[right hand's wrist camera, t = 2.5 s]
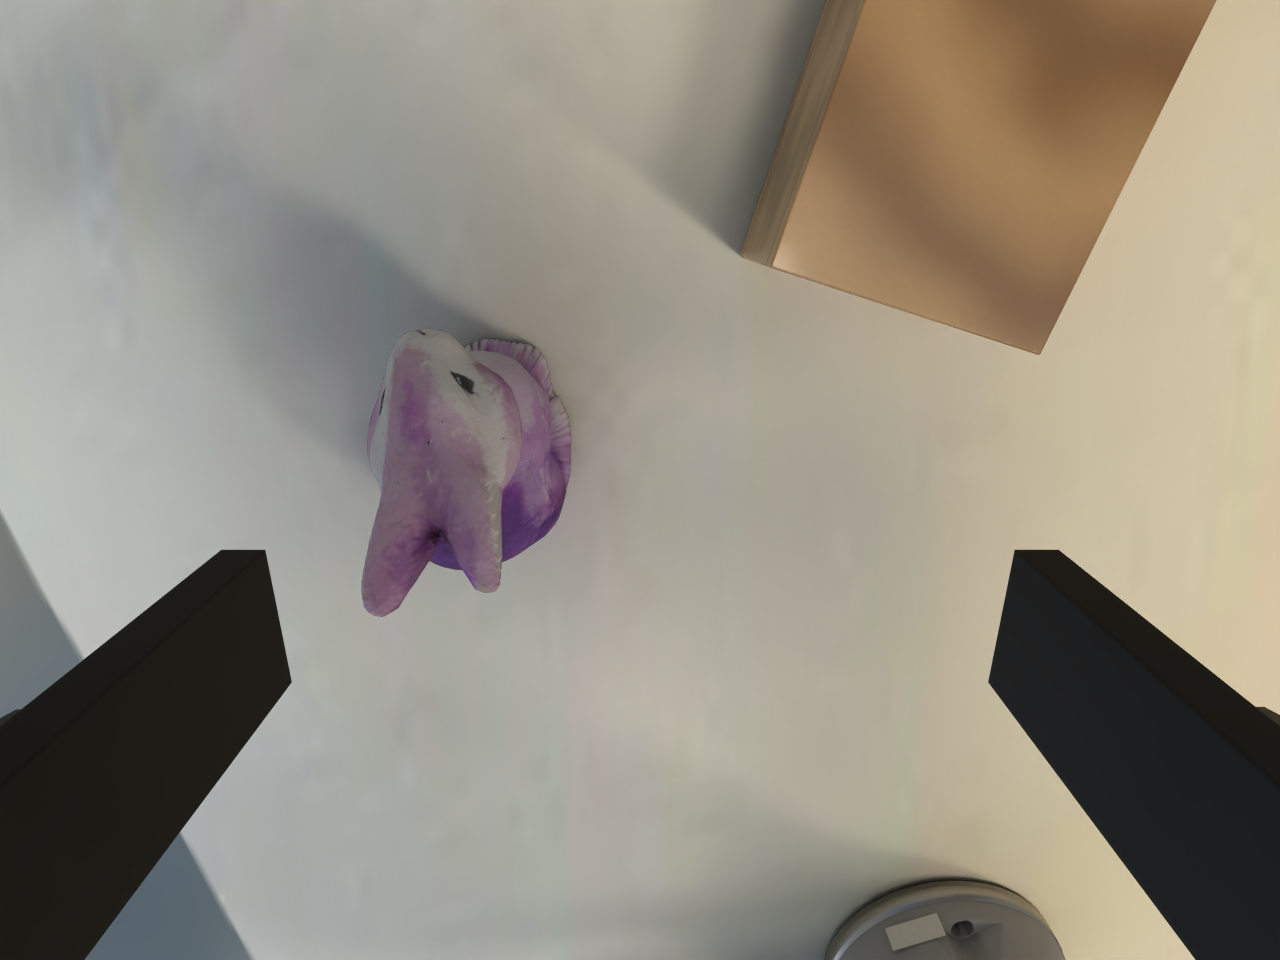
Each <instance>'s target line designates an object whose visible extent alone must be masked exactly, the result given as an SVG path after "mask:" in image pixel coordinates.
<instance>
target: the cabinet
mask: <svg viewBox="0 0 1280 960" xmlns="http://www.w3.org/2000/svg"><path fill="white" fill-rule="evenodd" d="M1215 2H1216V0H826V3H825V6H824V9H823V12H822V15H821V17H820V20H819V23H818V26H817V29H816V32H815V35H814V38H813V41H812V44H811V47H810V50H809V53H808V56H807V59H806V62H805V65H804V68H803V71H802V74H801V77H800V79H799V82H798V85H797V88H796V91H795V94H794V97H793V100H792V103H791V106H790V109H789V112H788V115H787V118H786V121H785V124H784V127H783V130H782V133H781V136H780V138H779V141H778V144H777V147H776V150H775V153H774V156H773V159H772V162H771V165H770V168H769V171H768V174H767V177H766V180H765V183H764V186H763V189H762V192H761V195H760V198H759V200H758V203H757V206H756V209H755V212H754V215H753V218H752V221H751V224H750V227H749V230H748V233H747V236H746V239H745V242H744V245H743V248H742V251H741V254H740V256H741V257H743V258H746V259H748V260H751V261H754V262H757V263H759V264H762V265H765V266H768V267H770V268H773V269H776V270H779V271H782V272H785V273H789V274H792V275H795V276H798V277H801V278H804V279H807V280H810V281H813V282H816V283H819V284H822V285H825V286H828V287H832V288H835V289H838V290H841V291H844V292H847V293H850V294H853V295H856V296H859V297H862V298H865V299H868V300H871V301H874V302H878V303H881V304H884V305H887V306H890V307H893V308H896V309H899V310H902V311H905V312H908V313H911V314H914V315H917V316H920V317H924V318H927V319H930V320H933V321H936V322H939V323H942V324H945V325H948V326H951V327H954V328H957V329H960V330H963V331H966V332H970V333H973V334H976V335H979V336H982V337H985V338H988V339H991V340H994V341H997V342H1000V343H1003V344H1006V345H1009V346H1012V347H1016V348H1019V349H1022V350H1025V351H1028V352H1031V353H1034V354H1037V355H1039V354H1040V353H1041V351H1042V349H1043V347H1044V345H1045V343H1046V341H1047V339H1048V337H1049V335H1050V333H1051V331H1052V329H1053V327H1054V325H1055V323H1056V321H1057V319H1058V317H1059V315H1060V313H1061V311H1062V309H1063V307H1064V305H1065V303H1066V301H1067V299H1068V297H1069V295H1070V293H1071V291H1072V289H1073V287H1074V285H1075V283H1076V281H1077V279H1078V277H1079V275H1080V273H1081V271H1082V269H1083V267H1084V265H1085V263H1086V261H1087V259H1088V257H1089V255H1090V253H1091V251H1092V249H1093V247H1094V245H1095V243H1096V241H1097V239H1098V237H1099V235H1100V233H1101V231H1102V229H1103V227H1104V225H1105V223H1106V221H1107V219H1108V217H1109V215H1110V213H1111V211H1112V209H1113V207H1114V205H1115V203H1116V201H1117V199H1118V197H1119V195H1120V193H1121V191H1122V189H1123V187H1124V185H1125V183H1126V181H1127V179H1128V177H1129V175H1130V173H1131V171H1132V169H1133V167H1134V165H1135V163H1136V161H1137V159H1138V157H1139V155H1140V153H1141V151H1142V149H1143V147H1144V145H1145V143H1146V141H1147V139H1148V137H1149V135H1150V133H1151V131H1152V129H1153V127H1154V125H1155V123H1156V121H1157V118H1158V116H1159V114H1160V112H1161V110H1162V108H1163V106H1164V104H1165V102H1166V100H1167V98H1168V96H1169V94H1170V92H1171V90H1172V88H1173V86H1174V84H1175V82H1176V80H1177V78H1178V76H1179V74H1180V72H1181V70H1182V68H1183V66H1184V64H1185V62H1186V60H1187V58H1188V56H1189V54H1190V52H1191V50H1192V48H1193V46H1194V44H1195V42H1196V40H1197V38H1198V36H1199V34H1200V32H1201V30H1202V28H1203V26H1204V24H1205V22H1206V20H1207V18H1208V16H1209V14H1210V12H1211V10H1212V8H1213V6H1214V4H1215Z"/></svg>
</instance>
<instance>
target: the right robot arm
mask: <svg viewBox="0 0 1280 960" xmlns="http://www.w3.org/2000/svg"><path fill="white" fill-rule="evenodd" d="M291 683H292V681H291V676H290V671H289V666H288V661H287V656H286V651H285V646H284V641H283V636H282V631H281V626H280V621H279V616H278V611H277V606H276V601H275V596H274V591H273V586H272V581H271V576H270V571H269V566H268V561H267V556H266V551H265V550H221V551H219V552H218V553H217V554H216V555H214V556H213V557H212V558H211V559H209V560H208V561H207V562H206V563H204V564H203V565H202V566H201V567H199V568H198V569H197V570H196V571H194V572H193V573H192V574H191V575H189V576H188V577H187V578H186V579H184V580H183V581H182V582H181V583H179V584H178V585H177V586H176V587H174V588H173V589H172V590H171V591H169V592H168V593H167V594H166V595H164V596H163V597H162V598H160V599H159V600H158V601H157V602H155V603H154V604H153V605H152V606H150V607H149V608H148V609H147V610H145V611H144V612H143V613H142V614H140V615H139V616H138V617H137V618H135V619H134V620H133V621H132V622H130V623H129V624H128V625H127V626H125V627H124V628H123V629H122V630H120V631H119V632H118V633H117V634H115V635H114V636H113V637H112V638H110V639H109V640H108V641H107V642H105V643H104V644H103V645H102V646H100V647H99V648H98V649H97V650H95V651H94V652H93V653H92V654H90V655H89V656H88V657H87V658H85V659H84V660H83V661H82V662H80V663H79V664H78V665H77V666H75V667H74V668H73V669H72V670H70V671H69V672H68V673H66V674H65V675H64V676H63V677H61V678H60V679H59V680H58V681H56V682H55V683H54V684H53V685H51V686H50V687H49V688H48V689H46V690H45V691H44V692H43V693H41V694H40V695H39V696H38V697H36V698H35V699H34V700H33V701H31V702H30V703H29V704H28V705H26V706H25V707H24V708H23V709H21V710H15V711H13V712H11V713H9V714H7V715H5V716H3V717H2V718H0V960H85V958H86V957H87V956H88V954H89V953H90V952H91V950H92V949H93V948H94V946H95V945H96V943H97V942H98V941H99V939H100V938H101V937H102V935H103V934H104V933H105V931H106V930H107V929H108V927H109V926H110V925H111V923H112V922H113V921H114V919H115V918H116V917H117V915H118V914H119V913H120V911H121V910H122V909H123V907H124V906H125V905H126V903H127V902H128V901H129V899H130V898H131V897H132V895H133V894H134V893H135V891H136V890H137V889H138V887H139V886H140V885H141V883H142V882H143V881H144V879H145V878H146V877H147V875H148V874H149V873H150V871H151V870H152V869H153V867H154V866H155V865H156V863H157V862H158V860H159V859H160V858H161V857H162V855H163V854H164V852H165V851H166V850H167V848H168V847H169V846H170V844H171V843H172V842H173V840H174V839H175V838H176V836H177V835H178V834H179V832H180V831H181V830H182V828H183V827H184V826H185V824H186V823H187V822H188V820H189V819H190V818H191V816H192V815H193V814H194V812H195V811H196V810H197V808H198V807H199V806H200V804H201V803H202V802H203V800H204V799H205V798H206V796H207V795H208V794H209V792H210V791H211V790H212V788H213V787H214V786H215V784H216V783H217V782H218V780H219V779H220V778H221V776H222V775H223V774H224V772H225V771H226V770H227V768H228V767H229V765H230V764H231V763H232V761H233V760H234V759H235V757H236V756H237V755H238V753H239V752H240V751H241V749H242V748H243V747H244V745H245V744H246V743H247V741H248V740H249V739H250V737H251V736H252V735H253V733H254V732H255V731H256V729H257V728H258V727H259V725H260V724H261V723H262V721H263V720H264V719H265V717H266V716H267V715H268V713H269V712H270V711H271V709H272V708H273V707H274V705H275V704H276V703H277V701H278V700H279V699H280V697H281V696H282V695H283V693H284V692H285V691H286V689H287V688H288V687H289V685H290V684H291ZM988 683H989V684H990V685H991V687H992V688H993V689H994V691H995V692H996V693H997V695H998V696H999V697H1000V699H1001V700H1002V701H1003V703H1004V704H1005V705H1006V707H1007V708H1008V709H1009V711H1010V712H1011V713H1012V715H1013V716H1014V717H1015V719H1016V720H1017V721H1018V723H1019V724H1020V725H1021V727H1022V728H1023V729H1024V731H1025V732H1026V733H1027V735H1028V736H1029V737H1030V739H1031V740H1032V741H1033V743H1034V744H1035V745H1036V747H1037V748H1038V749H1039V751H1040V752H1041V753H1042V755H1043V756H1044V757H1045V759H1046V760H1047V761H1048V763H1049V764H1050V765H1051V767H1052V768H1053V770H1054V771H1055V772H1056V774H1057V775H1058V776H1059V778H1060V779H1061V780H1062V782H1063V783H1064V784H1065V786H1066V787H1067V788H1068V790H1069V791H1070V792H1071V794H1072V795H1073V796H1074V798H1075V799H1076V800H1077V802H1078V803H1079V804H1080V806H1081V807H1082V808H1083V810H1084V811H1085V812H1086V814H1087V815H1088V816H1089V818H1090V819H1091V820H1092V822H1093V823H1094V824H1095V826H1096V827H1097V828H1098V830H1099V831H1100V832H1101V834H1102V835H1103V836H1104V838H1105V839H1106V840H1107V842H1108V843H1109V844H1110V846H1111V847H1112V848H1113V850H1114V851H1115V852H1116V854H1117V855H1118V857H1119V858H1120V859H1121V861H1122V862H1123V863H1124V865H1125V866H1126V867H1127V869H1128V870H1129V871H1130V873H1131V874H1132V875H1133V877H1134V878H1135V879H1136V881H1137V882H1138V883H1139V885H1140V886H1141V887H1142V889H1143V890H1144V891H1145V893H1146V894H1147V895H1148V897H1149V898H1150V899H1151V901H1152V902H1153V903H1154V905H1155V906H1156V907H1157V909H1158V910H1159V911H1160V913H1161V914H1162V915H1163V917H1164V918H1165V919H1166V921H1167V922H1168V923H1169V925H1170V926H1171V927H1172V929H1173V930H1174V931H1175V933H1176V934H1177V935H1178V937H1179V938H1180V939H1181V941H1182V942H1183V943H1184V945H1185V946H1186V948H1187V949H1188V950H1189V952H1190V953H1191V954H1192V956H1193V957H1194V958H1195V960H1280V715H1279V714H1277V713H1275V712H1273V711H1271V710H1269V709H1267V708H1265V707H1255V706H1254V705H1252V704H1251V703H1250V702H1249V701H1247V700H1246V699H1245V698H1244V697H1242V696H1241V695H1240V694H1239V693H1237V692H1236V691H1235V690H1234V689H1232V688H1231V687H1230V686H1229V685H1227V684H1226V683H1225V682H1224V681H1222V680H1221V679H1220V678H1219V677H1217V676H1216V675H1215V674H1214V673H1212V672H1211V671H1210V670H1209V669H1207V668H1206V667H1205V666H1204V665H1202V664H1201V663H1200V662H1198V661H1197V660H1196V659H1195V658H1193V657H1192V656H1191V655H1190V654H1188V653H1187V652H1186V651H1185V650H1183V649H1182V648H1181V647H1180V646H1178V645H1177V644H1176V643H1175V642H1173V641H1172V640H1171V639H1170V638H1168V637H1167V636H1166V635H1165V634H1163V633H1162V632H1161V631H1160V630H1158V629H1157V628H1156V627H1155V626H1153V625H1152V624H1151V623H1150V622H1148V621H1147V620H1146V619H1145V618H1143V617H1142V616H1141V615H1140V614H1138V613H1137V612H1136V611H1135V610H1133V609H1132V608H1131V607H1130V606H1128V605H1127V604H1126V603H1125V602H1123V601H1122V600H1121V599H1120V598H1118V597H1117V596H1116V595H1114V594H1113V593H1112V592H1111V591H1109V590H1108V589H1107V588H1106V587H1104V586H1103V585H1102V584H1101V583H1099V582H1098V581H1097V580H1096V579H1094V578H1093V577H1092V576H1091V575H1089V574H1088V573H1087V572H1086V571H1084V570H1083V569H1082V568H1081V567H1079V566H1078V565H1077V564H1076V563H1074V562H1073V561H1072V560H1071V559H1069V558H1068V557H1067V556H1066V555H1064V554H1063V553H1062V552H1061V551H1059V550H1015V551H1014V556H1013V561H1012V566H1011V571H1010V576H1009V581H1008V586H1007V591H1006V596H1005V601H1004V606H1003V611H1002V616H1001V621H1000V626H999V631H998V636H997V641H996V646H995V651H994V656H993V661H992V666H991V671H990V676H989V681H988ZM825 960H1065V957H1064V955H1063V952H1062V949H1061V947H1060V945H1059V943H1058V941H1057V939H1056V937H1055V936H1054V934H1053V932H1052V931H1051V929H1050V927H1049V925H1048V924H1047V922H1046V920H1045V919H1044V918H1043V916H1042V915H1041V914H1040V913H1039V911H1038V910H1037V909H1036V908H1035V907H1034V906H1032V905H1031V904H1030V903H1029V902H1027V901H1026V900H1024V899H1023V898H1022V897H1020V896H1018V895H1016V894H1014V893H1012V892H1010V891H1008V890H1005V889H1003V888H999V887H996V886H993V885H989V884H984V883H979V882H972V881H938V882H930V883H924V884H919V885H915V886H911V887H908V888H904V889H901V890H898V891H896V892H893V893H890V894H888V895H886V896H884V897H882V898H880V899H878V900H876V901H874V902H872V903H871V904H869V905H867V906H866V907H864V908H863V909H862V910H860V911H859V912H858V913H856V914H855V915H854V916H853V917H851V918H850V919H849V920H848V921H847V922H846V923H845V924H844V925H843V927H842V928H841V929H840V930H839V931H838V933H837V934H836V936H835V937H834V939H833V940H832V942H831V944H830V946H829V948H828V951H827V953H826V956H825Z"/></svg>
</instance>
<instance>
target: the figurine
mask: <svg viewBox="0 0 1280 960" xmlns="http://www.w3.org/2000/svg"><path fill="white" fill-rule="evenodd" d="M552 389H553V386H552V384H551V379H550V376H549V368H548V365H547V362H546V359H545V358H544V356H543V354H542V353H541V352H540V350H539V349H537V348H533V347H532V346H531V345H528V344H522V343H519V344H516V343H515V342H513V343H511V342H510V341H508V342H505V341H504V340H502V341H499V340H498V339H497V340H494V339H483V340H481V341H480V340H477V341H475V342H473V343H470V344H469V345H468V346H466V347H465V348H464V347H463V346H462V345H461V344H460V343H459V341H458V340H456V339H455V338H454V337H453V336H452V335H450V334H449V333H447V332H445V331H442V330H439V329H429V328H425V329H422V330H418V331H411V332H408V333H406V334H404V335H402V336H401V337H400V338H399V339H398V341H397V342H396V344H395V345H394V347H393V348H392V350H391V352H390V354H389V358H388V362H387V366H386V371H385V375H384V378H383V382H382V385H381V389H380V393H379V397H378V400H377V402H376V405H375V407H374V410H373V413H372V416H371V419H370V425H369V431H368V437H367V451H368V457H369V461H370V464H371V467H372V470H373V472H374V474H375V476H376V478H377V479H378V481H379V483H380V487H381V500H380V506H379V508H378V511H377V514H376V519H375V521H374V525H373V529H372V534H371V537H370V540H369V546H368V551H367V555H366V560H365V567H364V570H363V577H362V588H361V592H362V598H363V604H364V608H365V609H366V610H367V611H368V612H369V613H370V614H372V615H374V616H379V617H383V616H386V615H388V614H389V613H391V612H392V611H394V610H396V609H397V608H399V606H400V604H401V603H402V601H403V600H404V598H405V596H406V595H407V593H408V592H409V590H410V589H411V588H412V586H413V585H414V584H415V582H416V580H417V579H418V577H419V576H420V574H421V573H422V571H423V569H424V568H425V566H426V565H427V563H428V562H429V561H431V562H433V563H434V564H437V565H439V566H442V567H445V568H450V569H455V570H463V571H464V573H465V574H466V576H467V577H468V579H469V580H470V582H471V583H472V585H473V586H474V588H475V589H476V590H479V591H481V592H484V593H491V592H494V591H496V589H497V588H498V587H499V585H500V578H501V569H502V568H501V563H502V562H504V561H506V560H508V559H510V558H513V557H514V556H516V555H518V554H519V553H521V552H522V551H524V550H525V549H527V548H528V547H529V546H531V545H532V544H534V543H535V542H537V541H538V540H540V539H541V538H543V537H544V536H545V535H546V534H547V533H548V532H549V531H550V529H551V528H552V527H553V526H554V525H555V523H556V521H557V520H558V518H559V515H560V513H561V509H562V506H563V502H564V499H565V494H566V487H567V484H568V480H569V476H570V459H571V434H570V427H569V419H568V415H567V413H566V411H565V408H564V406H563V404H562V402H561V400H560V398H559V396H556V395H555V393H554V392H553V391H552Z"/></svg>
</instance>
